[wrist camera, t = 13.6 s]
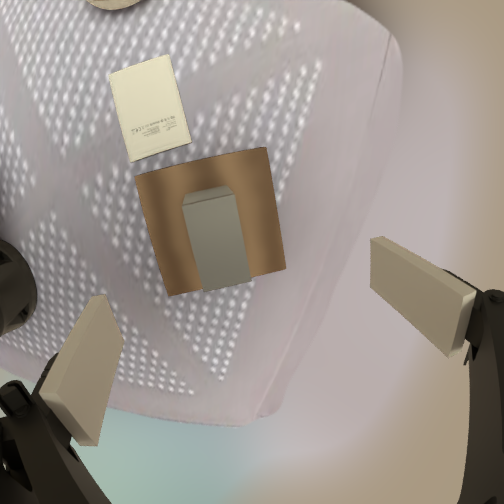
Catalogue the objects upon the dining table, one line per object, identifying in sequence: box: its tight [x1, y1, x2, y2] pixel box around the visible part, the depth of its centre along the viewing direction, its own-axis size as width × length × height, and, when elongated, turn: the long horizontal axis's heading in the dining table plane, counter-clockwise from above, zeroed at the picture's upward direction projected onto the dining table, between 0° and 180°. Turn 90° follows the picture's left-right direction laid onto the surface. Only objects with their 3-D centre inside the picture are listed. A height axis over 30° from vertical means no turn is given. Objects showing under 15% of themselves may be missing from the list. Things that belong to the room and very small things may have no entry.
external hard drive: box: [109, 54, 192, 162], centre depth 33 cm, size 2×8×12 cm
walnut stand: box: [135, 147, 286, 296], centre depth 38 cm, size 16×16×3 cm
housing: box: [182, 185, 252, 292], centre depth 33 cm, size 5×9×8 cm, turn 10°
